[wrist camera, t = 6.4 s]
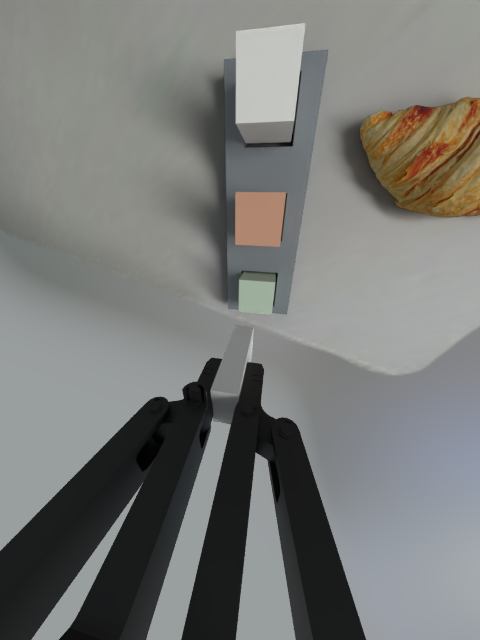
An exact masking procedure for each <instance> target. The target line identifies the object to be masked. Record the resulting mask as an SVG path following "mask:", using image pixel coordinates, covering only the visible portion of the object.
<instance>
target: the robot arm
mask: <svg viewBox="0 0 480 640" xmlns="http://www.w3.org/2000/svg"><path fill="white" fill-rule="evenodd" d="M253 329H254V327H249V326H239V325H235V327H234V330H233V333H232V335H231V338H230V340H229V343H228V346H227V348H226V351H225V353H224V356H223V359H218V358H211V359H210V360H209V361H207V363H206V365H205V367H204V369H203V371H202V374H201V375H200V377H199V379H198V381H197V382H192V383H189V384H187V385H186V386H185V387H184V388H183V395H184V399H183V400H179V401H172V402H168V400H167V399H166V398H164V397H155V398H153V399H151V400H149V401H148V402H147V403H146V404H145V405H144V406H143V407H142V408H141V409H140V410H139V411H138V412H137V413H136V414H135V415H134V416H133V417H132V418H131V419H130V420H129V421H128V422H127V423H126V424H125V425H124V426H123V427H122V428H121V429H120V430H119V431H118V432H117V433H116V434H115V435H114V436H113V437H112V438H111V439H110V440H109V441H108V442H107V443H106V444H105V445H104V446H103V447H102V448H101V449H100V450H99V452H98V453H96V455H94V457H93V458H92V459H91V460H90V461H89V462H88V463H87V464H86V465H85V466H84V467H83V468H82V469H81V470H80V471H79V472H78V473H77V474H76V475H75V476H74V477H73V478H72V479H71V480H70V481H69V482H68V483H67V484H66V485H65V486H64V487H63V488H62V489H61V490H60V491H59V492H58V493H57V494H56V495H55V496H54V497H53V498H52V499H51V500H50V501H49V502H48V503H47V504H46V505H45V506H44V507H43V508H42V509H41V510H40V511H39V512H38V513H37V514H36V515H35V516H34V517H33V518H32V520H31V521H30V522H29V523H28V524H27V525H26V526H25V527H24V528H23V529H22V530H21V531H20V532H19V533H18V534H17V535H16V536H15V537H14V538H13V539H12V540H11V541H10V542H9V543H8V544H7V545H6V546H5V547H4V548H3V549H2V550H1V551H0V640H31V639H32V638H33V636H34V635H35V633H36V632H37V631H38V629H39V628H40V626H41V625H42V623H43V622H44V621H45V619H46V618H47V617H48V615H49V614H50V612H51V611H52V609H53V608H54V607H55V605H56V604H57V603H58V601H59V600H60V598H61V597H62V595H63V594H64V593H65V591H66V590H67V588H68V587H69V586H70V584H71V583H72V581H73V580H74V579H75V577H76V576H77V574H78V573H79V572H80V570H81V569H82V567H83V566H84V565H85V563H86V562H87V560H88V559H89V558H90V556H91V555H92V553H93V552H94V551H95V549H96V548H97V546H98V545H99V543H100V542H101V541H102V539H103V538H104V537H105V535H106V534H107V532H108V531H109V530H110V528H111V527H112V525H113V524H114V522H115V521H116V519H117V518H118V517H119V515H120V514H121V513H122V511H123V510H124V508H125V507H126V506H127V504H128V503H129V501H130V500H131V499H132V497H133V496H134V494H135V493H136V492H137V490H138V489H139V487H140V486H141V485H142V486H141V488H140V490H139V492H138V495H137V496H136V498H135V500H134V503H133V504H132V506H131V508H130V510H129V513H128V514H127V516H126V519H125V521H124V523H123V525H122V527H121V529H120V531H119V533H118V535H117V537H116V539H115V541H114V543H113V545H112V547H111V549H110V551H109V553H108V555H107V557H106V559H105V561H104V563H103V565H102V567H101V569H100V571H99V573H98V575H97V577H96V579H95V582H94V583H93V585H92V587H91V589H90V591H89V593H88V595H87V597H86V599H85V601H84V603H83V606H82V607H81V610H80V612H79V613H78V615H77V617H76V619H75V620H74V622H73V623H72V625H71V627H70V628H69V629H68V630H67V631H66V632H65V633H64V635H63V636H62V637H61V638H60V639H59V640H146V638H147V634H148V631H149V627H150V624H151V621H152V618H153V615H154V611H155V608H156V605H157V601H158V598H159V595H160V592H161V589H162V586H163V582H164V579H165V576H166V573H167V569H168V566H169V563H170V560H171V557H172V553H173V550H174V547H175V544H176V540H177V537H178V534H179V531H180V527H181V524H182V521H183V518H184V515H185V511H186V508H187V505H188V502H189V499H190V495H191V492H192V489H193V486H194V482H195V479H196V476H197V473H198V469H199V466H200V463H201V460H202V456H203V453H204V450H205V447H206V444H207V440H208V437H209V434H210V430H211V421H212V418H213V421H216V422H222V423H227V424H231V427H230V431H229V436H228V440H227V444H226V449H225V453H224V458H223V462H222V466H221V470H220V475H219V479H218V483H217V488H216V492H215V496H214V501H213V505H212V509H211V514H210V518H209V522H208V527H207V531H206V535H205V540H204V544H203V548H202V553H201V557H200V561H199V566H198V570H197V574H196V578H195V583H194V587H193V592H192V596H191V600H190V604H189V609H188V613H187V617H186V622H185V626H184V631H183V635H182V639H181V640H236V632H237V622H238V612H239V603H240V593H241V584H242V574H243V565H244V556H245V546H246V537H247V528H248V518H249V508H250V499H251V490H252V480H253V470H254V462H255V452H256V453H258V454H259V455H261V456H262V457H264V458H266V459H267V460H268V466H269V472H270V479H271V485H272V492H273V497H274V504H275V511H276V517H277V523H278V529H279V536H280V541H281V549H282V554H283V561H284V567H285V574H286V580H287V587H288V592H289V599H290V606H291V611H292V617H293V624H294V630H295V637H296V640H366V638H365V635H364V632H363V629H362V626H361V622H360V619H359V616H358V613H357V610H356V607H355V604H354V601H353V597H352V594H351V591H350V588H349V585H348V582H347V579H346V575H345V572H344V569H343V566H342V563H341V560H340V557H339V554H338V551H337V547H336V544H335V541H334V538H333V535H332V532H331V529H330V525H329V522H328V519H327V516H326V513H325V510H324V507H323V504H322V500H321V497H320V494H319V491H318V488H317V485H316V482H315V479H314V475H313V472H312V469H311V466H310V463H309V460H308V457H307V453H306V450H305V447H304V444H303V441H302V438H301V435H300V431H299V429H298V427H297V425H296V424H295V423H294V422H293V421H292V420H290V419H288V418H278V419H275V418H273V417H271V416H269V415H268V414H266V413H265V412H264V411H263V409H262V407H261V393H262V384H263V375H264V369H263V366H262V364H258V363H251V357H252V347H253ZM142 483H143V484H142Z"/></svg>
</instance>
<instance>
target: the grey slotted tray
mask: <svg viewBox="0 0 480 640" xmlns="http://www.w3.org/2000/svg"><path fill="white" fill-rule="evenodd" d="M327 55H328V50H320V51H309V52H302V58H301V67H300V75H299V84H298V85H299V94H298V103H297V111H296V120H295V128H294V137H293V146H291V147H253V148H247V143H245V141H244V139H243V137H242V135H241V133H240V131H239V129H238V127H237V125H236V58H235V59H224V93H225V154H226V216H227V278H228V309H237V310H239V279H240V277H241V275H242V274H243V272H244V271H257V272H272V273H278V275H277V283H276V292H275V300H273V308H272V313H279V314H287V310H288V303H289V297H290V291H291V284H292V278H293V272H294V265H295V259H296V253H297V246H298V240H299V234H300V227H301V221H302V214H303V208H304V202H305V195H306V189H307V183H308V176H309V170H310V164H311V157H312V151H313V144H314V138H315V132H316V125H317V119H318V113H319V106H320V100H321V94H322V87H323V81H324V75H325V68H326V62H327ZM235 192H286V194H287V197H286V206H285V214H284V223H283V232H282V239H281V242H280V247H273V246H252V245H235Z"/></svg>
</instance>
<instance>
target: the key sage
mask: <svg viewBox="0 0 480 640" xmlns="http://www.w3.org/2000/svg"><path fill="white" fill-rule="evenodd" d="M275 281H276V273H272V272H257V271H244V272H243V274H242V275H241V277H240V279H239V312H248V313H258V314H268V315H272V308H273V300H274V291H275Z"/></svg>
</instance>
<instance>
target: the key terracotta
mask: <svg viewBox="0 0 480 640" xmlns="http://www.w3.org/2000/svg"><path fill="white" fill-rule="evenodd" d="M285 198H286V192H235V245H252V246H273V247H280V242H281V233H282V224H283V215H284V207H285Z"/></svg>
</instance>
